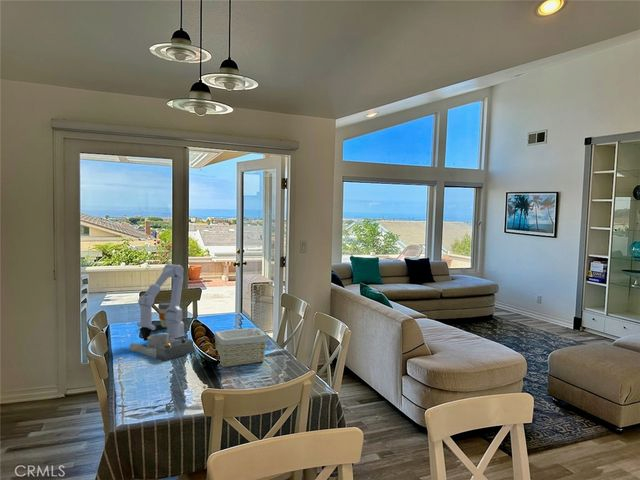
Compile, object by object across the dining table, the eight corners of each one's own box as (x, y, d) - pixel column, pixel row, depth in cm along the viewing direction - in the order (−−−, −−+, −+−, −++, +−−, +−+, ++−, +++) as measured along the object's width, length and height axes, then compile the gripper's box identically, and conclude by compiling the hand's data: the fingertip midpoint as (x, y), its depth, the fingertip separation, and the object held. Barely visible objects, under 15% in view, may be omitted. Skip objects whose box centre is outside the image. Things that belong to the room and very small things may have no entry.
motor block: (164, 341, 248) (164, 329, 247) (197, 350, 232) (197, 337, 232) (129, 351, 229) (129, 337, 229) (161, 362, 214) (161, 348, 213)
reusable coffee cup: (157, 324, 285) (157, 302, 284) (177, 322, 291) (177, 300, 290) (158, 328, 274) (158, 305, 273) (179, 327, 279) (179, 304, 278)
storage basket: (257, 353, 231) (257, 326, 230) (267, 362, 217) (268, 334, 216) (213, 359, 220) (213, 331, 219) (221, 369, 206) (221, 339, 205)
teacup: (154, 355, 224) (154, 340, 224) (143, 350, 231) (143, 336, 230) (177, 348, 235) (177, 334, 235) (166, 344, 242) (166, 330, 241)
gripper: (131, 315, 239) (132, 339, 240) (147, 319, 231) (147, 344, 232) (143, 313, 245) (143, 336, 246) (158, 317, 237) (158, 341, 238)
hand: (146, 340), depth 239 cm, fingers closed
